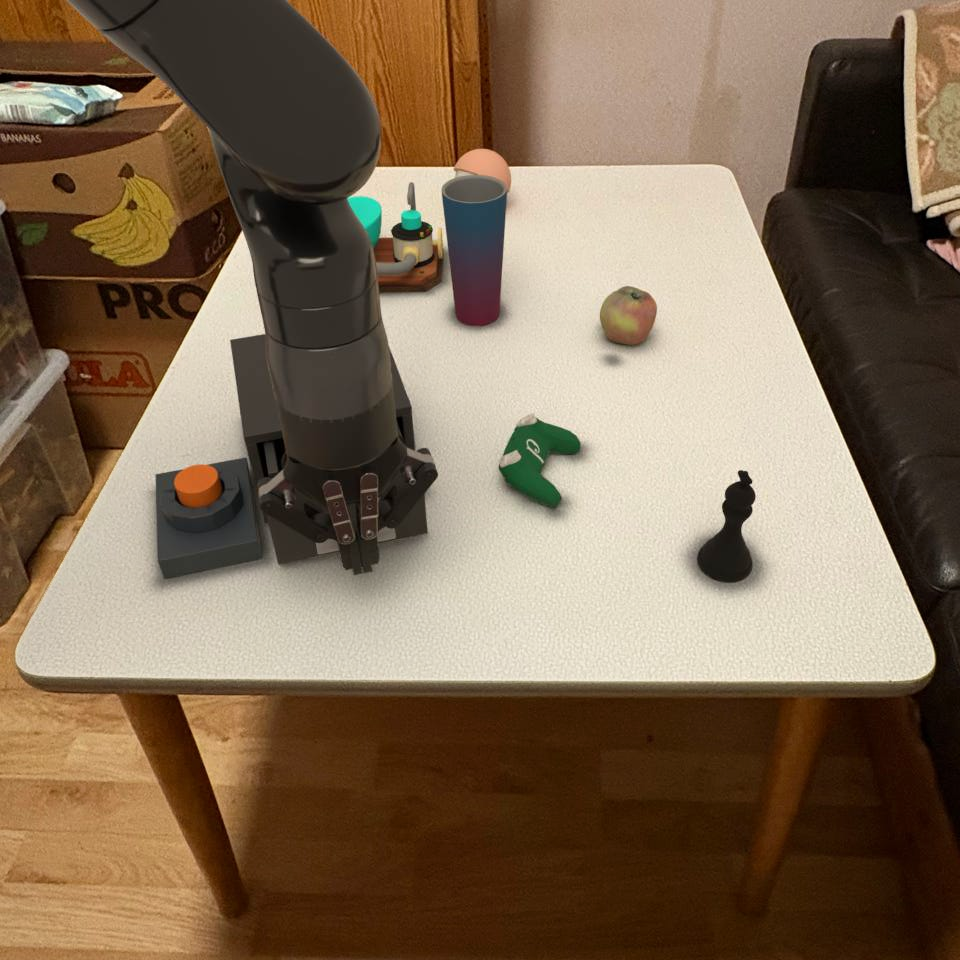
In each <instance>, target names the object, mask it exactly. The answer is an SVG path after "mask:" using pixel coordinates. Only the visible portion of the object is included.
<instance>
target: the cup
mask: <svg viewBox="0 0 960 960" xmlns="http://www.w3.org/2000/svg"><path fill="white" fill-rule="evenodd" d="M507 198H508V194H507V186H506V184H505V183H504V182H503V181H501V180H500V179H497V178H495V177H491V176H486V175H466V176H460V177H457V178H455V177H454V178H452V179H449V180H447V181H446V182H444V184H442V186H441V199H442V207H443V216H444V227H445V235H446V243H447V251H448V260H449V269H450V278H451V287H452V295H453V305H454V313H455V318H456V319H457V321H459V322H460V323H462V324H463V325H466V326H467V325H468V326H471V327H472V326H474V327H478V326H479V327H480V326H486V325H490V324H492V323H494V322H496V321H497V320H498V318H499V317H500V313H501V312H500V311H501V294H502V279H503V278H502V276H503V263H504V249H505V248H504V247H505V234H506V233H505V231H506V216H507V215H506V213H507Z"/></svg>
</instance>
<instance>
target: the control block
mask: <svg viewBox="0 0 960 960" xmlns="http://www.w3.org/2000/svg"><path fill="white" fill-rule="evenodd" d="M207 465H209V466H212V467H213V468H215V469H216V470H217V472H218V475H219V479H220V482H221V486H222V493H221V496H220V497H219V498H218V499H217V500H216V501H215V502H213V503H211V504H209V505H208V506H203V507H198V508H191V507H187V506H185V505H183V504H182V503H181V502H180V500H179V497H178V494H177V491H176V488H175V485H174V480H175V477H176V476H177V474H178V473H179V472H181V471H182V470H183V469H184V468H182V469H177V470H172V471H166V472H160V473H156V474H155V506H156V507H155V511H156V545H157V546H156V549H157V550H156V551H157V553H156V554H157V563H158V566H159V568H160V571H161V574H162V577H163V579H164V580H165V579H172V578H175V577H181V576H184V575H190V574H195V573H199V572H204V571H209V570H212V569H217V568H223V567H227V566H232V565H238V564H243V563H246V562H251V561H252V562H253V561H256V560H261V559H263V551H262V545H261V538H260V530H259V524H258V518H257V517H258V516H257V510H256V503H255V496H254V495H255V494H254V488H253V482H252V475H251V471H250V470H251V469H250V467H249V463H248V458H247V457H240V458H235V459H230V460H229V459H228V460H225V461H219V462H214V463H209V464H207Z"/></svg>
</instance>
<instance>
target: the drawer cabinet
mask: <svg viewBox="0 0 960 960" xmlns="http://www.w3.org/2000/svg"><path fill="white" fill-rule="evenodd" d="M229 344H230V350H231V357H232V365H233V371H234V377H235V385H236V392H237V393H236V394H237V398H238V407H239V413H240V422H241V426H242V428H241V429H242V434H243V435H242V436H243V441H244V444H245V448H246V452H247V456H248V460H249V464H250V468H251V472H252V476H253V480H254V483H255V488H256V492H257V496H258V498H259V495H258V487H257V483H258V481H259V480H260V479H262V478H265V477H269V474H268V469H267V463H266V457H265V451H264V444H263V442H265V441H271V440H276V439H281V438H283V435H282V430H281V425H280V421H279V416H278V411H277V407H276V402H275V397H274V392H273V388H272V383H271V381H270V378H269V369H268V363H267V357H266V339H265V333H262V334H257V335H251V336H244V337H239V338H232V339H230V340H229ZM389 352H390V362H391V372H392V381H393V391H394V401H395V411H396V420H397V423H398V426H399V429H400V432H401V435H402V438H403V439H404V443H405V446H406V447H407V448H409V449H412V450H414V451H416V442H415V431H414V419H413V418H414V417H413V408H412V404H411V401H410V399H409V396H408V394H407V390H406V387H405V385H404V382H403V380H402V377H401V375H400V371H399V368H398V366H397V363H396V361H395V359H394V355H393V353H392V351H391V348H390V347H389ZM261 513H262V516H263V520H264V524H268V521H267V517H266V513H264V512H262V511H261Z"/></svg>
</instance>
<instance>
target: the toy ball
mask: <svg viewBox="0 0 960 960" xmlns="http://www.w3.org/2000/svg"><path fill="white" fill-rule="evenodd" d="M453 171H454V172H455V175H454V178H457V177H460V176H466V175H486V176H491V177H495V178H497V179H500V180H501V181H503V182H504V183H505V184H506V186H507V195H508V194H509V193H510V191H511V187H512V173H511V170H510V167H509V164H508V163H507V161H506V160H505V159H504V158H503V157H502V156H501V155H500V154H499V153H498V152H496V151H494V150H491V149H488V148H475V149H472V150H469V151H467V152H466V153H464V154H463V155H462V156H460V158H459V159H458V160H457V162H456V163H455V165H454V167H453Z"/></svg>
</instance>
